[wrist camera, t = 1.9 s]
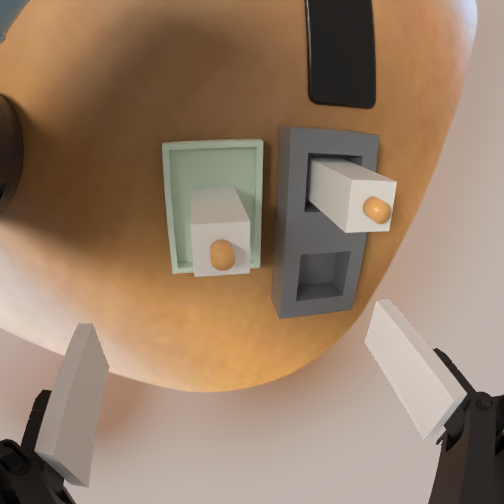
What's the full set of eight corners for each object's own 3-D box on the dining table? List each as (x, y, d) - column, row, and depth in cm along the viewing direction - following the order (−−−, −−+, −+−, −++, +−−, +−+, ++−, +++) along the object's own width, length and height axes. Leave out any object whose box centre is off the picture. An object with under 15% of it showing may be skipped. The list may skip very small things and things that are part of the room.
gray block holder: (271, 298, 37) (301, 375, 26) (278, 125, 28) (330, 136, 17) (339, 291, 38) (385, 357, 27) (359, 131, 29) (437, 150, 18)
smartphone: (372, 109, 29) (366, -15, 22) (376, 109, 28) (370, -17, 21) (306, 104, 28) (300, -29, 21) (309, 103, 27) (303, -32, 20)
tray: (173, 265, 33) (172, 273, 31) (164, 142, 27) (162, 144, 25) (257, 260, 34) (260, 267, 32) (259, 138, 28) (263, 140, 27)
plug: (194, 226, 30) (194, 288, 20) (192, 188, 29) (189, 233, 19) (233, 224, 31) (253, 284, 21) (233, 186, 29) (254, 229, 19)
